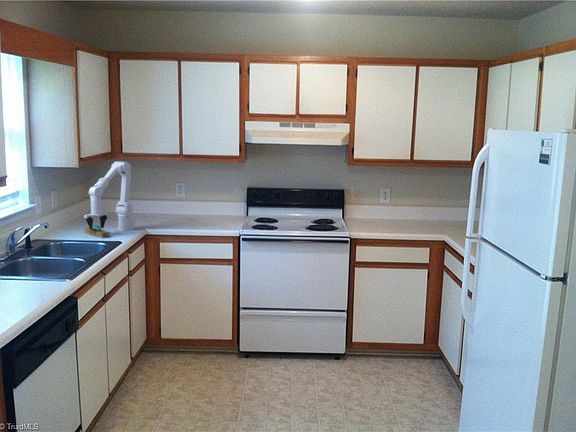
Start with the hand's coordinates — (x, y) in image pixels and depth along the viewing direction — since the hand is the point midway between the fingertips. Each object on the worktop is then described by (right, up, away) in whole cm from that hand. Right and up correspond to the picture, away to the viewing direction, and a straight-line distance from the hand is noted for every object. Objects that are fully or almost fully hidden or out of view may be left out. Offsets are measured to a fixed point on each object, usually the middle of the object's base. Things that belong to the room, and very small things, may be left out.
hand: (96, 228), depth 318 cm
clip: (0, -4, +1) cm, 4 cm away
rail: (0, -4, +1) cm, 4 cm away
